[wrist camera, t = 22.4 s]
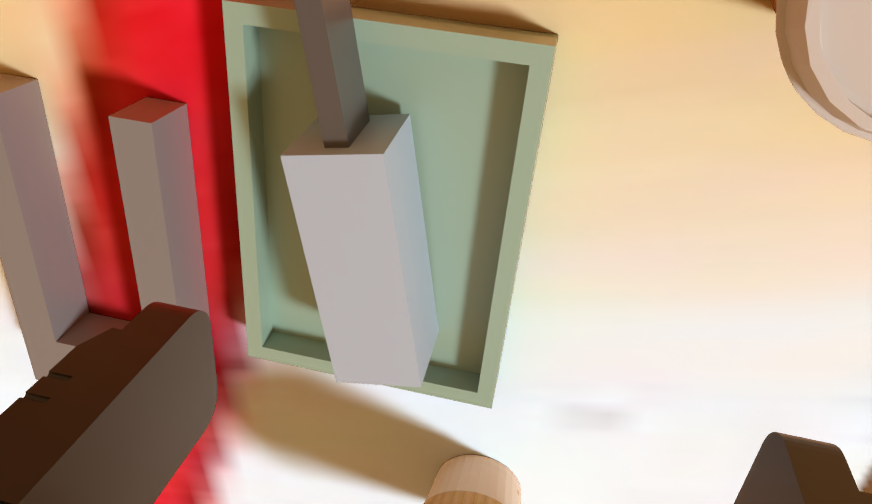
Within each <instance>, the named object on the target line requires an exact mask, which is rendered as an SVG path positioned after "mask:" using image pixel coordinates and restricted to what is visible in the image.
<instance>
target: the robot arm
mask: <svg viewBox="0 0 872 504" xmlns="http://www.w3.org/2000/svg"><path fill="white" fill-rule="evenodd" d="M217 395H218V386H217V376H216V367H215V358H214V348H213V339H212V330H211V322H210V319H209V316H208V314H207V313H206V312H204V311H201V310H196V309H191V308H186V307H182V306H177V305H172V304H167V303H162V302H152V303H150V304H149V305H147V306H146V307H145V308H144V309H143V310H142V311H141V312H140V313H139V314H138V315H137V316H136V317H134V318H133V319H132V320H131V321H130V322H129V323H128V324H127V325H126V326H125V327H124V328H123V329H122V330H121V329H117V328H111V329H109V330H107V331H105V332H103V333H101V334H99V335H97V336H95V337H93V338H91V339H89V340H87V341H85V342H83V343H81V344H79V345H77V346H76V347H75V348H74V349H73V350H71V351H70V352H69V353H68V354H67V355H66V356H65V357H64V358H63V359H61V360H60V361H59V362H58V363H57V364H56V365H55V366H54V367H53V368H52V369H50V370H49V374H48V376H47V377H45V376H43V377H42V378H41V379H39V380H38V381H37V382H36V383H35V384H34V385H33V386H32V387H31V388H30V389H28V390H27V391H26V395H25V397H24V398H19V399H17V400H16V401H15V402H14V403H13V404H12V405H11V406H10V407H9V408H8V409H6V410H5V411H4V412H3V413H2V414H1V415H0V504H154V502H155V501H156V499H157V498H158V496H159V495H160V494H161V492H162V491H163V489H164V488H165V487H166V485H167V484H168V482H169V481H170V479H171V478H172V477H173V475H174V474H175V472H176V471H177V469H178V468H179V467H180V465H181V464H182V462H183V461H184V460H185V458H186V457H187V455H188V454H189V452H190V451H191V450H192V448H193V447H194V445H195V444H196V443H197V441H198V440H199V438H200V437H201V435H202V434H203V433H204V431H205V430H206V428H207V426H208V424H209V423H210V420H211V418H212V416H213V413H214V410H215V406H216V402H217ZM734 504H872V494H870V493H865V492H861V491H859V490H858V488H857V485H856V483H855V480H854V478H853V476H852V473H851V471H850V468H849V466H848V464H847V461H846V459H845V457H844V455H843V453H842V451H841V450H840V448H839V447H837V446H836V445H834V444H830V443H826V442H821V441H816V440H811V439H806V438H802V437H797V436H792V435H787V434H782V433H778V432H772V433H770V434H769V435H768V436H767V437H766V439H765V440H764V442H763V444H762V446H761V448H760V450H759V452H758V454H757V456H756V458H755V461H754V463H753V465H752V467H751V469H750V471H749V473H748V475H747V477H746V479H745V481H744V484H743V486H742V488H741V490H740V492H739V494H738V496H737V498H736V500H735V502H734Z"/></svg>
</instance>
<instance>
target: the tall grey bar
mask: <svg viewBox="0 0 872 504" xmlns="http://www.w3.org/2000/svg"><path fill="white" fill-rule="evenodd" d="M294 4H295V9H296V14H297V19H298V23H299V28H300V33H301V38H302V42H303V47H304V52H305V57H306V62H307V66H308V71H309V76H310V81H311V85H312V90H313V95H314V100H315V105H316V109H317V114H318V117H317V118H316V119H315V120H314V121H313V122H312V123H311V125H310V126H309V127H308V128H307V129H306V130H305V131H304V132H303V133H302V134H301V135H300V136H299V137H298V138H297V139H296V140H295V141H294V142H293V143H292V144H291V145H290V146H289V147H288V148H287V149H286V150H285V151H284V152H283V153H282V155H281V156H280V157H281V161H282V165H283V169H284V173H285V177H286V181H287V185H288V189H289V193H290V197H291V201H292V205H293V209H294V213H295V217H296V221H297V225H298V229H299V233H300V237H301V241H302V245H303V249H304V254H305V258H306V262H307V266H308V270H309V274H310V278H311V282H312V286H313V290H314V294H315V298H316V302H317V306H318V310H319V314H320V318H321V322H322V326H323V330H324V334H325V338H326V342H327V346H328V350H329V354H330V358H331V362H332V366H333V370H334V375H335V379H336V382H347V383H362V384H377V385H392V386H407V387H421V386H422V383H423V379H424V376H425V373H426V370H427V367H428V364H429V361H430V357H431V354H432V351H433V348H434V345H435V342H436V339H437V335H438V332H439V327H438V320H437V312H436V305H435V297H434V290H433V282H432V275H431V267H430V260H429V252H428V245H427V237H426V230H425V222H424V215H423V207H422V200H421V192H420V185H419V177H418V170H417V162H416V155H415V147H414V140H413V132H412V125H411V117H410V114H387V115H369V112H368V106H367V100H366V94H365V88H364V82H363V76H362V70H361V64H360V58H359V52H358V46H357V40H356V34H355V28H354V22H353V16H352V10H351V4H350V0H294Z"/></svg>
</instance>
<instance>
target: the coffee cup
mask: <svg viewBox="0 0 872 504" xmlns="http://www.w3.org/2000/svg"><path fill="white" fill-rule="evenodd" d="M424 504H521V487H520V483H519V481H518V479H517V477H516V476H515V475H514V473H513V472H512V471H511V470H510V469H509V468H507V467H506V466H505V465H503V464H502V463H500V462H498V461H496V460H494V459H491V458H488V457H484V456H479V455H462V456H457V457H454V458H452V459H450V460H448V461H446V462H445V463H444V464H443V465H442V466H441V467H440V469H439V471H438V473H437V475H436V478H435V480H434V482H433V485H432V487H431V489H430V492H429V494H428V497H427V499H426V501H425V503H424Z"/></svg>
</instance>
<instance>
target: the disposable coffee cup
mask: <svg viewBox="0 0 872 504" xmlns="http://www.w3.org/2000/svg"><path fill="white" fill-rule="evenodd" d="M771 2H772V5H773V7H774V10H775V12H776V37H777V41H778V46H779V51H780V56H781V60H782V62H783V65H784V68H785V70H786V72H787V75H788V77H789V79H790V81H791V83H792V85H793V86H794V88H795V90H796V91H797V93H798V94H799V95H800V96H801V97H802V98H803V99H804V100H805V101H806V103H807V104H808V105H809V106H810V107H811V108H812V109H813V110H814V111H815V112H816V114H818V115H819V116H821V117H822V118H824V119H825V120H827V121H828V122H830V123H831V124H833V125H834V126H836V127H837V128H839V129H840V130H842V131H843V132H846V133H849V134H852V135H855V136H858V137H861V138H863V139H866V140H869V141H872V0H771Z"/></svg>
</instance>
